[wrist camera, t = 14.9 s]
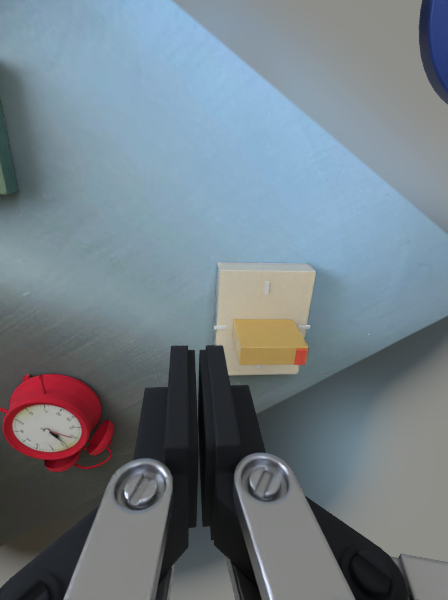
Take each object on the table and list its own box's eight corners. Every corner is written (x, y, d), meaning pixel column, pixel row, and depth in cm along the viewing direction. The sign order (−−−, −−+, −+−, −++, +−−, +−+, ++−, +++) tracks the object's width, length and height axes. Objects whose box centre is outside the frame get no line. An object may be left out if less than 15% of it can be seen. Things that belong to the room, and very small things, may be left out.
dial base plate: (214, 261, 36) (216, 270, 33) (311, 263, 37) (320, 272, 35) (209, 363, 41) (211, 376, 39) (294, 361, 43) (301, 374, 40)
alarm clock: (46, 370, 35) (124, 478, 38) (73, 347, 41) (137, 442, 45) (-33, 412, 36) (48, 513, 40) (4, 384, 43) (72, 473, 46)
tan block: (232, 334, 37) (239, 366, 32) (233, 318, 36) (241, 348, 31) (290, 335, 38) (306, 366, 33) (292, 319, 37) (310, 348, 32)
